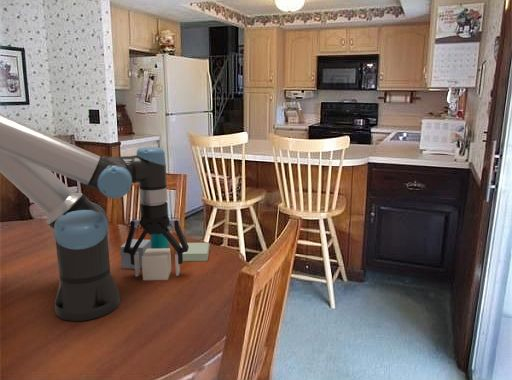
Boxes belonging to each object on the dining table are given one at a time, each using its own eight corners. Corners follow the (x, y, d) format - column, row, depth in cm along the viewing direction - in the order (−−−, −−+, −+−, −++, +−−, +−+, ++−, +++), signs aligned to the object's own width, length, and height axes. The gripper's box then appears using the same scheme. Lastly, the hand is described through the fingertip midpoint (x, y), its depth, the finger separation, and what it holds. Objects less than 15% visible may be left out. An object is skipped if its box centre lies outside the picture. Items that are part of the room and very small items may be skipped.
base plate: (207, 260, 134) (207, 253, 134) (175, 261, 134) (175, 253, 133) (209, 249, 144) (209, 242, 143) (179, 249, 144) (179, 242, 143)
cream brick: (167, 280, 121) (166, 257, 119) (143, 280, 120) (141, 257, 119) (171, 270, 128) (170, 248, 126) (148, 270, 127) (146, 248, 126)
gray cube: (144, 269, 128) (142, 247, 126) (121, 268, 129) (120, 246, 127) (151, 260, 135) (150, 239, 133) (130, 259, 135) (129, 238, 134)
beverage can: (170, 251, 143) (169, 208, 139) (167, 257, 137) (166, 213, 134) (153, 250, 142) (152, 207, 139) (149, 257, 137) (148, 212, 133)
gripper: (196, 198, 123) (198, 268, 128) (115, 199, 122) (120, 269, 127) (194, 205, 116) (196, 278, 121) (107, 206, 115) (113, 280, 120)
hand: (157, 274), depth 124 cm, fingers open, 11 cm apart
